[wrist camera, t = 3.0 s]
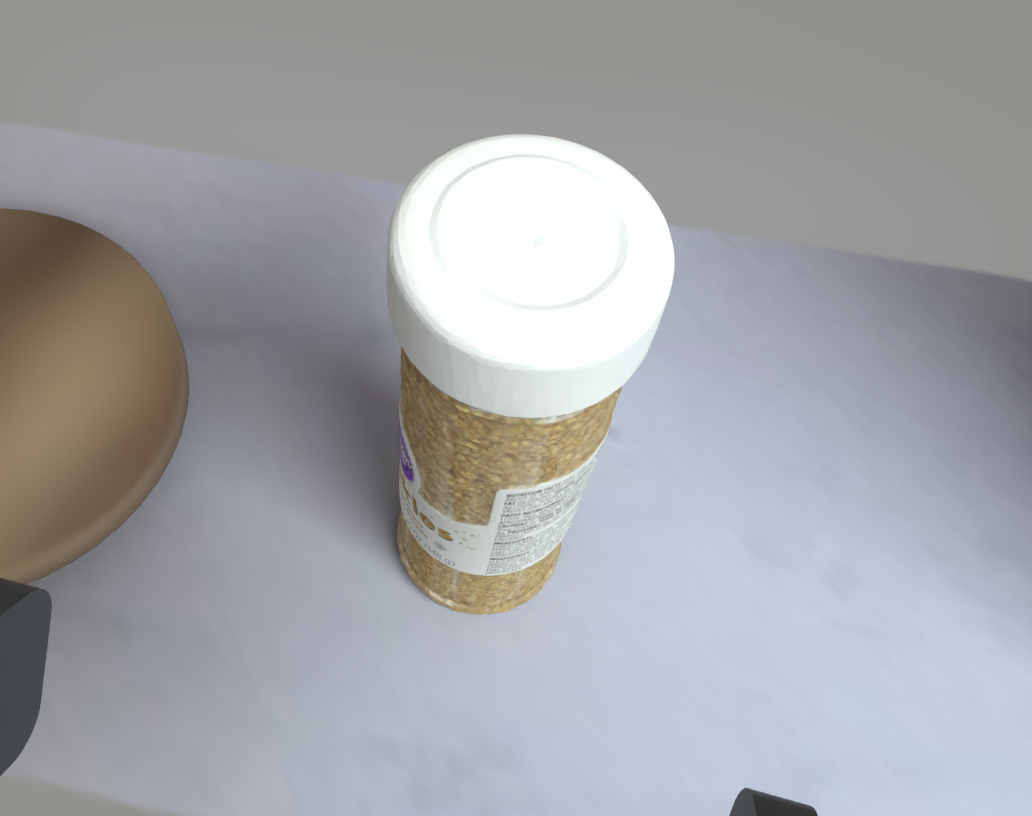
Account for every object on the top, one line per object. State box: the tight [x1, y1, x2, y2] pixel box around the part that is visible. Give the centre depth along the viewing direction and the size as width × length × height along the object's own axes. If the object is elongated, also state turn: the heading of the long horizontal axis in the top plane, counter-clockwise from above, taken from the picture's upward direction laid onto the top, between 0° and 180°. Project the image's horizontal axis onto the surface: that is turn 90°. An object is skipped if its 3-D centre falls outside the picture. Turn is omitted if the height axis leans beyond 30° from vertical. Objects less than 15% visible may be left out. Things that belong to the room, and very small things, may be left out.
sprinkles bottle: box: [387, 134, 675, 614], centre depth 20 cm, size 5×4×13 cm
